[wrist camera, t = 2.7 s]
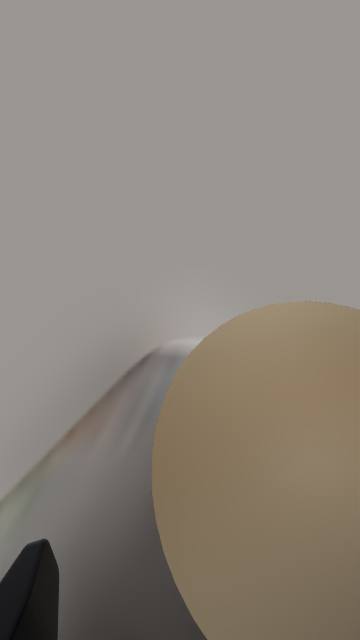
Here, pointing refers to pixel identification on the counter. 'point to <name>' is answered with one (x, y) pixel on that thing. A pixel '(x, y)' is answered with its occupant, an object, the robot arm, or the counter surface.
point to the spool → (265, 475)
